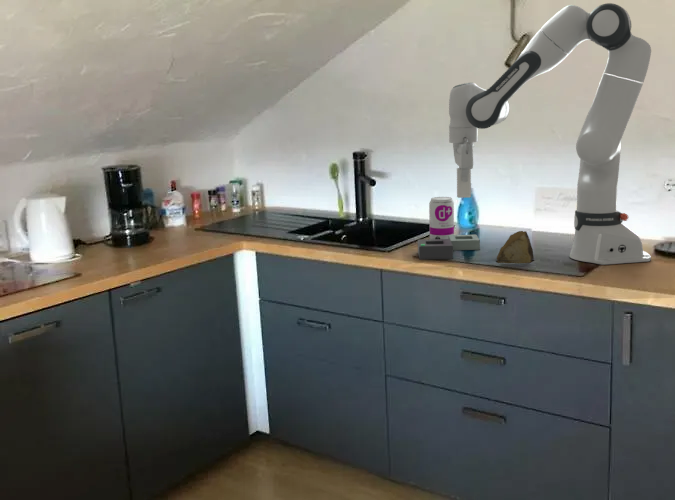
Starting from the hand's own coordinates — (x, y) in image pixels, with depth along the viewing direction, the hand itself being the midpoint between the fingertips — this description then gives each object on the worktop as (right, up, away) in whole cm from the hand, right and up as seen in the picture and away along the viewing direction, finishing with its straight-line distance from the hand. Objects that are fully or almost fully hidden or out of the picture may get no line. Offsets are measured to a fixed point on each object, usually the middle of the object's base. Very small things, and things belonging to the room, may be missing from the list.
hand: (463, 180), depth 227 cm
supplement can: (-4, -19, +18) cm, 27 cm away
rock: (+13, -26, -13) cm, 32 cm away
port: (-10, -24, -5) cm, 27 cm away
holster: (+1, -22, +5) cm, 22 cm away
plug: (0, -5, +1) cm, 5 cm away
